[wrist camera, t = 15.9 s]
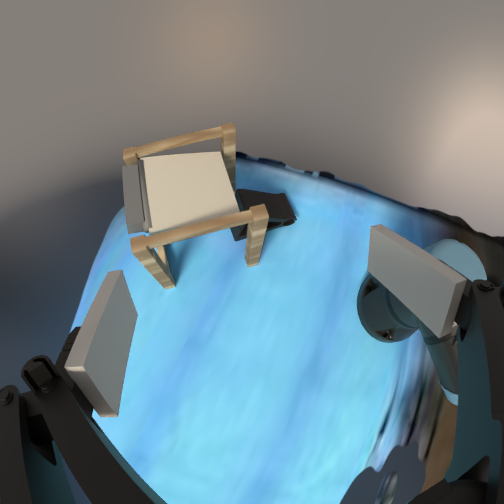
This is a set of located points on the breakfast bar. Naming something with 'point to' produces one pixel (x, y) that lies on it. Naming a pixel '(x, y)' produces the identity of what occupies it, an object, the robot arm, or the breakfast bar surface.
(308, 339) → the breakfast bar surface
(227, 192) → the trapdoor
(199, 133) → the trapdoor frame
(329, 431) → the breakfast bar surface
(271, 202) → the phone stand
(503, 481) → the robot arm
